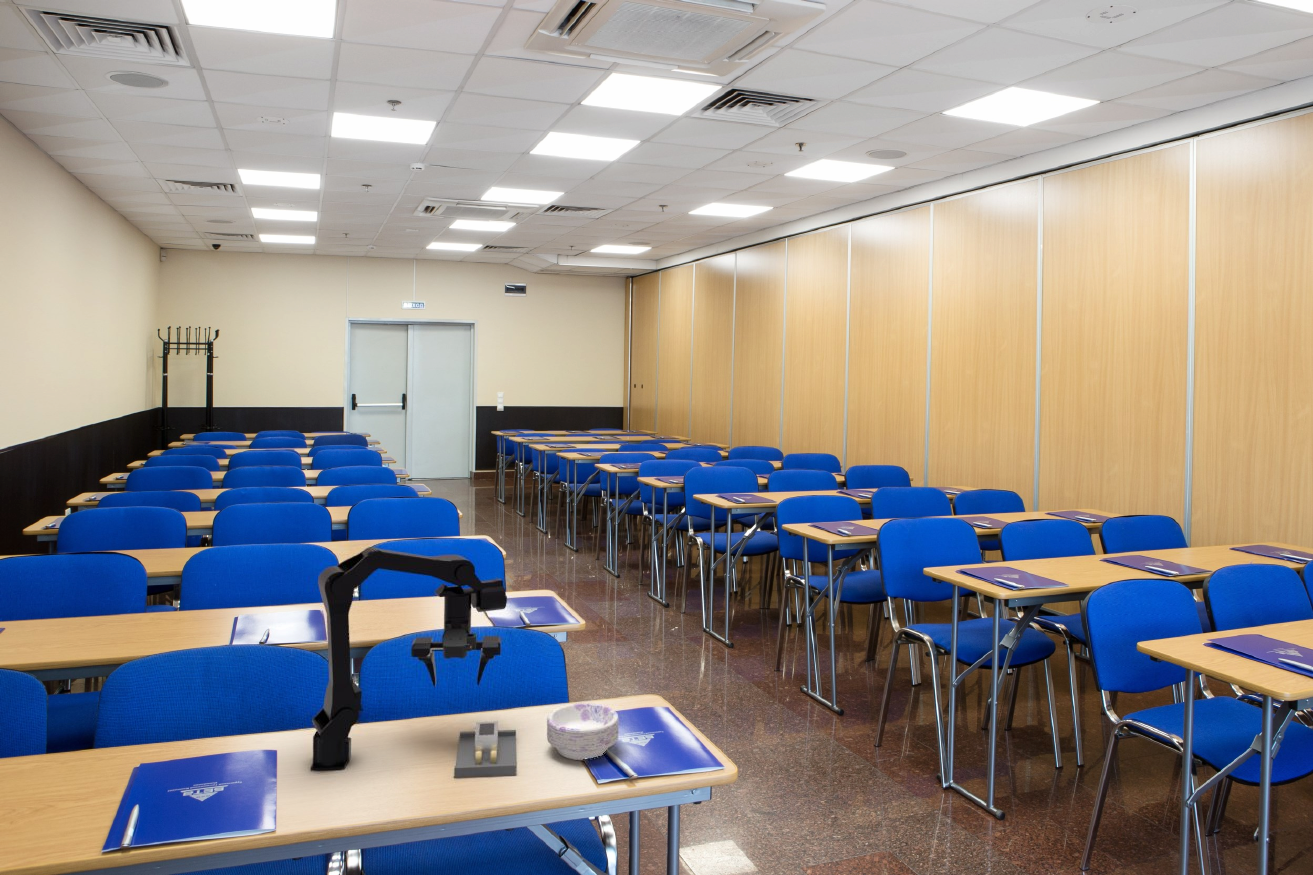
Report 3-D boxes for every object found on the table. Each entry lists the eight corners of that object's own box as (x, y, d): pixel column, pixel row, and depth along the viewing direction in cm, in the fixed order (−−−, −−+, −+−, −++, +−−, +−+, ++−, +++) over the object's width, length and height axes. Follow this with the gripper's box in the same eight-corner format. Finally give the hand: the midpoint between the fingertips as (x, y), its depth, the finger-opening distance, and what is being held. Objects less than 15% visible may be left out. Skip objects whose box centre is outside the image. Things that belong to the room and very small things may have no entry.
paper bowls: (535, 761, 178) (536, 724, 177) (560, 733, 193) (561, 698, 192) (606, 771, 174) (607, 733, 174) (626, 742, 189) (627, 706, 189)
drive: (474, 761, 175) (475, 736, 174) (476, 745, 183) (476, 721, 182) (497, 760, 176) (497, 735, 175) (497, 744, 183) (498, 720, 183)
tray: (454, 777, 169) (454, 760, 169) (459, 740, 187) (460, 724, 187) (515, 775, 171) (516, 758, 171) (515, 738, 189) (516, 723, 189)
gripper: (408, 625, 177) (407, 699, 178) (500, 623, 180) (499, 697, 181) (414, 611, 188) (413, 681, 189) (501, 610, 191) (500, 679, 192)
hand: (456, 685), depth 187 cm, fingers open, 9 cm apart
